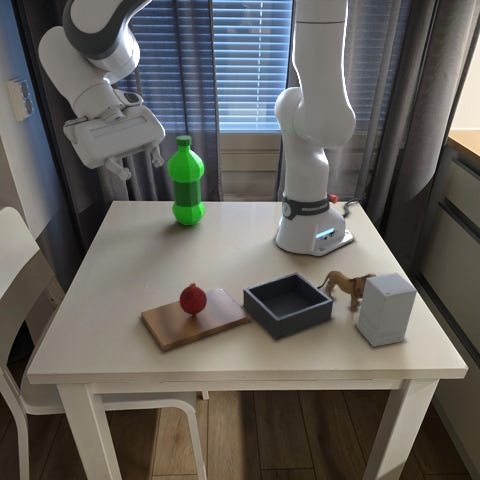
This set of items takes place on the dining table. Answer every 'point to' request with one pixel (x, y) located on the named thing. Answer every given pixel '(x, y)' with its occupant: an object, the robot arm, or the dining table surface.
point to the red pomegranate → (193, 299)
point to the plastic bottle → (186, 182)
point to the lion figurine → (346, 285)
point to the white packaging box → (385, 309)
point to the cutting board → (193, 320)
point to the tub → (287, 305)
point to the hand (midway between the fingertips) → (144, 171)
